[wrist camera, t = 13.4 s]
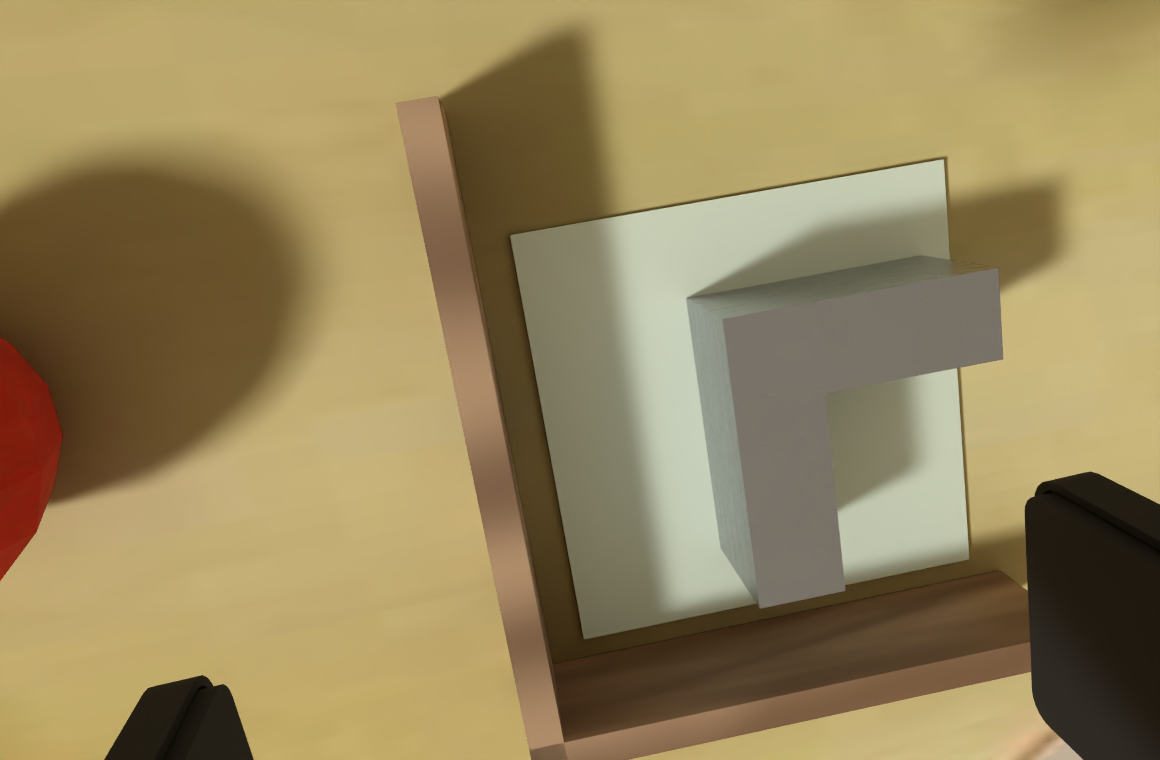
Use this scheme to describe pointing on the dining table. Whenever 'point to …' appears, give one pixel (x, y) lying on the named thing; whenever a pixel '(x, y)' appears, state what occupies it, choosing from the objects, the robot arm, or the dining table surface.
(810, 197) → the mat
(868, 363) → the bracket
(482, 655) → the dining table surface
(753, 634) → the wooden corner frame
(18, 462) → the apple
